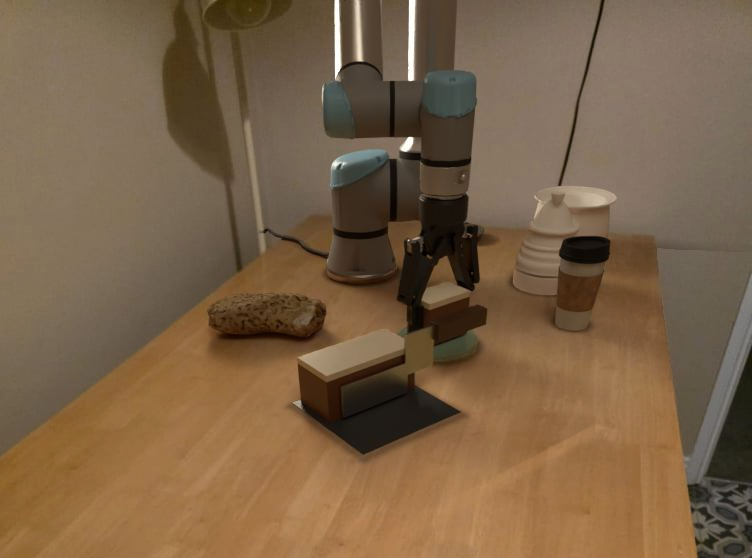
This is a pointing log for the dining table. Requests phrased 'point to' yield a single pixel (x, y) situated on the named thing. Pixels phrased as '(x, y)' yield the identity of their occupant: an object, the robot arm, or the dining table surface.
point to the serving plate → (452, 346)
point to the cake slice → (443, 303)
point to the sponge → (267, 314)
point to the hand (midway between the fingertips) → (437, 333)
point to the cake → (346, 369)
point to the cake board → (387, 420)
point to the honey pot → (544, 247)
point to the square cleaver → (408, 360)
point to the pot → (583, 207)
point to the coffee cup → (579, 279)
